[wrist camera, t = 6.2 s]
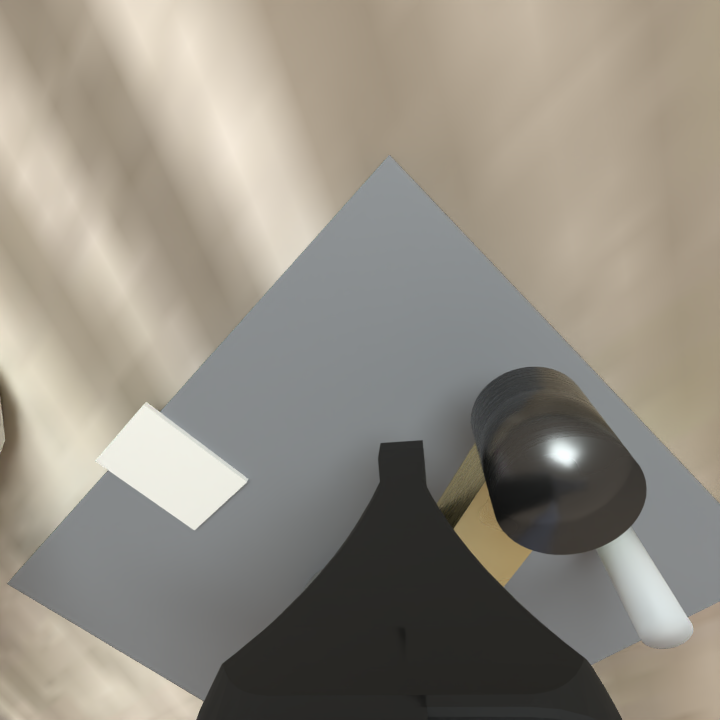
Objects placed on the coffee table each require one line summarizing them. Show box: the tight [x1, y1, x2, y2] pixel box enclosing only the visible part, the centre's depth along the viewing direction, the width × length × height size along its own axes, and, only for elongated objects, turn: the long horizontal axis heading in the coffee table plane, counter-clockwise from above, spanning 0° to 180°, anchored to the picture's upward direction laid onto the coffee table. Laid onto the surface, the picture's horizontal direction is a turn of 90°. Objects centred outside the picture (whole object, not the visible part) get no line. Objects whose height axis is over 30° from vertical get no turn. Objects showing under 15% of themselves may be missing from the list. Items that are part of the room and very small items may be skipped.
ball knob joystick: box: [437, 367, 647, 587], centre depth 12 cm, size 15×6×3 cm, turn 158°
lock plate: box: [7, 155, 720, 701], centre depth 15 cm, size 18×21×5 cm
